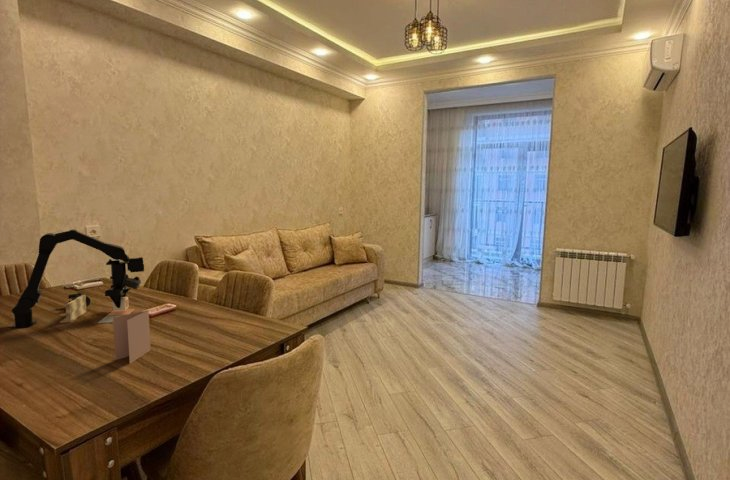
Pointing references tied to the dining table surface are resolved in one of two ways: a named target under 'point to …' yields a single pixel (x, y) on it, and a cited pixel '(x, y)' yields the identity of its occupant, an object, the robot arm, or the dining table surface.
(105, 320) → the slate tile
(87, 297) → the end cap
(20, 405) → the dining table surface
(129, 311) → the terracotta tile
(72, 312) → the beech screen
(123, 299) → the marked cube
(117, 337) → the greeting card
